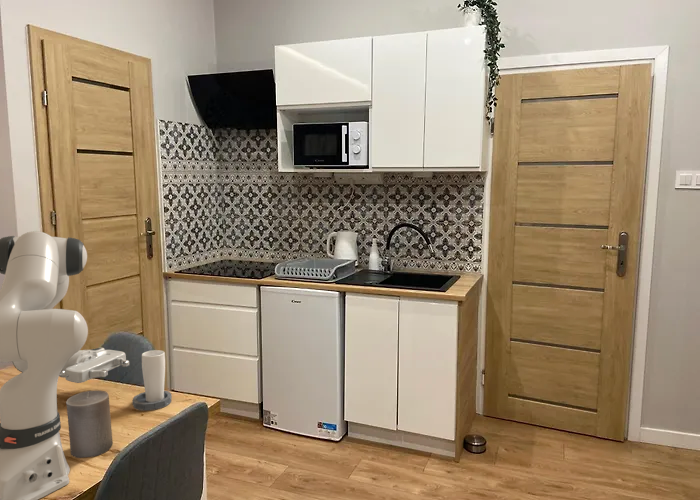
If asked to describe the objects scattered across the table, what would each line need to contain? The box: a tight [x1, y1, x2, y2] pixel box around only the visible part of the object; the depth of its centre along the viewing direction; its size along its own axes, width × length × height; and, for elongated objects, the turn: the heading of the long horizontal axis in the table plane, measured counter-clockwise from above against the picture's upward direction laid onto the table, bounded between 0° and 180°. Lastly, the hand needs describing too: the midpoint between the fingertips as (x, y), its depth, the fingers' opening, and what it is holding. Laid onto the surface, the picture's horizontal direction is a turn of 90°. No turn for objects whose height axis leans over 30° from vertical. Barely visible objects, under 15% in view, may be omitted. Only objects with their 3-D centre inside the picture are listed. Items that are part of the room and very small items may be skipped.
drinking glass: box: [141, 349, 166, 403], centre depth 164 cm, size 7×7×15 cm
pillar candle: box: [65, 390, 114, 459], centre depth 135 cm, size 10×10×15 cm
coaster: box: [131, 390, 172, 412], centre depth 164 cm, size 11×11×2 cm
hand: (117, 368), depth 167 cm, fingers open, 8 cm apart
